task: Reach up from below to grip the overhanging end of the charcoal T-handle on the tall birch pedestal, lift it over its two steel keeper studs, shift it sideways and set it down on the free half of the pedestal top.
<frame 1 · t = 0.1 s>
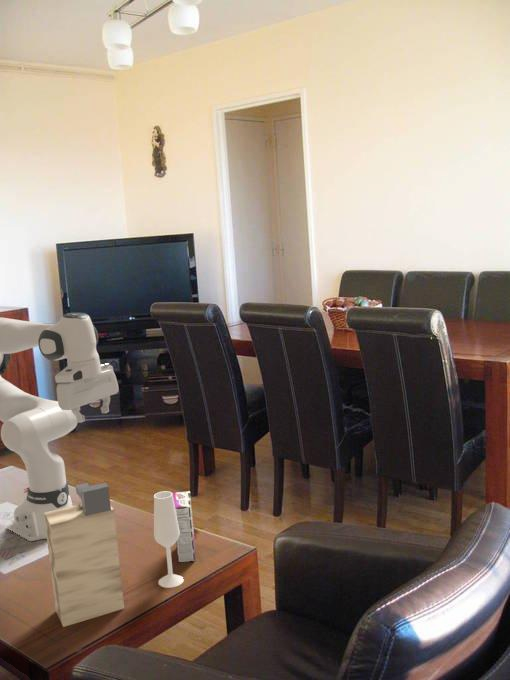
hand: (93, 417, 210), 39 cm above the table, tool pointing down, fingers open, 8 cm apart
candy bar box: (186, 554, 209), on the table
pedestal: (90, 609, 183), on the table
champagne flute: (171, 581, 194), on the table
t handle: (94, 507, 179), point 26 cm above the table, touching pedestal
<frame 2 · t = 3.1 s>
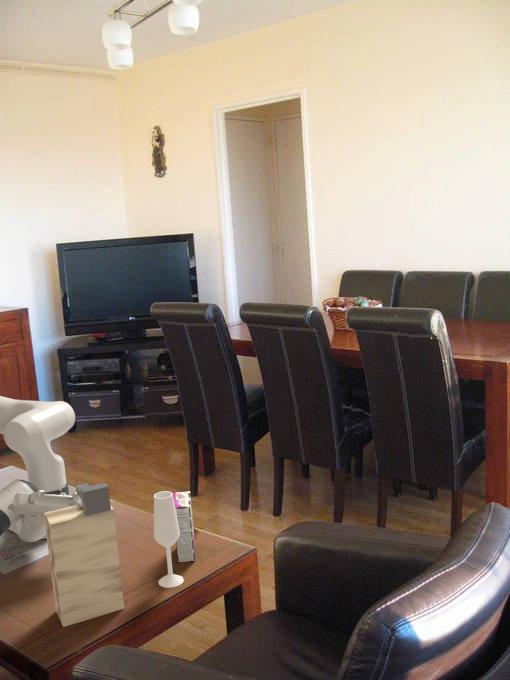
hand: (59, 494, 196), 24 cm above the table, tool pointing upward, fingers open, 8 cm apart
nothing on the table moved.
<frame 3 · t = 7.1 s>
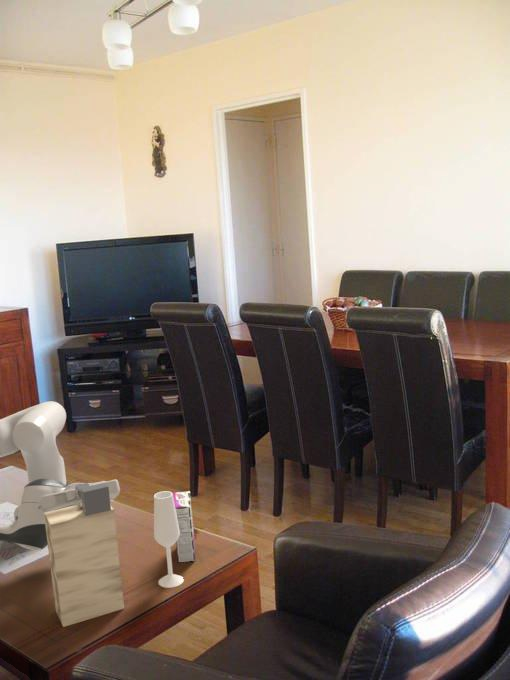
hand: (84, 490, 187), 27 cm above the table, tool pointing upward, fingers closed on t handle, 3 cm apart
t handle: (94, 507, 179), point 26 cm above the table, touching gripper, pedestal
everything else where it was.
when the fingers open (29 cm above the table, at t = 11.4 s): t handle stays where it is, resting on pedestal.
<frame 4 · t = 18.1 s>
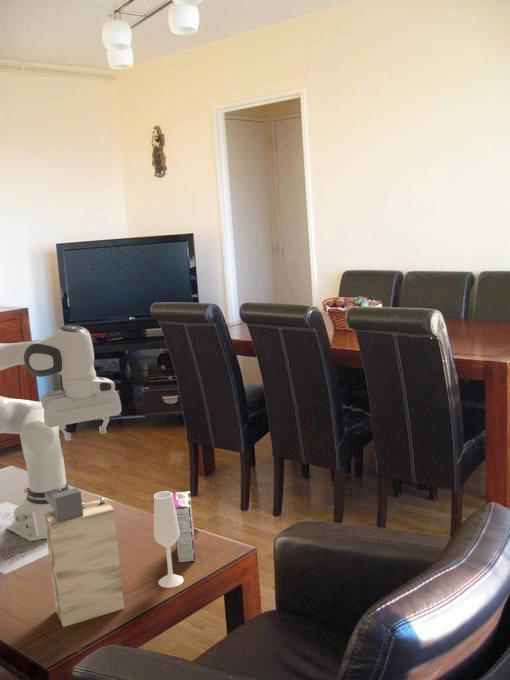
hand: (85, 436, 199), 37 cm above the table, tool pointing down, fingers open, 8 cm apart
t handle: (65, 513, 177), point 26 cm above the table, touching pedestal
everything else where it was.
at the end: t handle 0.9 cm from the target spot, point 26.0 cm above the table; the gripper is holding nothing; t handle tilted 0° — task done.
